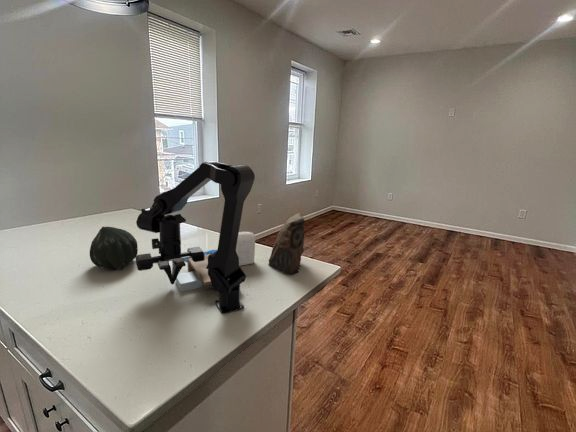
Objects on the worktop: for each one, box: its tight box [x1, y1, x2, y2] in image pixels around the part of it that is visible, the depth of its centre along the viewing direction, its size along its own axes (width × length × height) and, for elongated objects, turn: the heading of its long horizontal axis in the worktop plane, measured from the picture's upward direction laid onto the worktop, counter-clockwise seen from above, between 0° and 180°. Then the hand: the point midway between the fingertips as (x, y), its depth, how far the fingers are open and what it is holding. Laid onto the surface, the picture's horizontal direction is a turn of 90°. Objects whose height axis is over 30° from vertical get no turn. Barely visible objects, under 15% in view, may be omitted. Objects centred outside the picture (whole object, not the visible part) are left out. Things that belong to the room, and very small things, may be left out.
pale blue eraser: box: [175, 271, 204, 292], centre depth 99 cm, size 7×14×2 cm, turn 121°
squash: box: [89, 226, 139, 271], centre depth 106 cm, size 14×15×15 cm
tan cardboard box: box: [186, 254, 213, 290], centre depth 100 cm, size 20×11×5 cm, turn 31°
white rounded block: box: [236, 231, 256, 267], centre depth 113 cm, size 10×4×12 cm, turn 123°
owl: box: [267, 211, 306, 276], centre depth 110 cm, size 13×13×20 cm
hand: (172, 283), depth 94 cm, fingers closed
